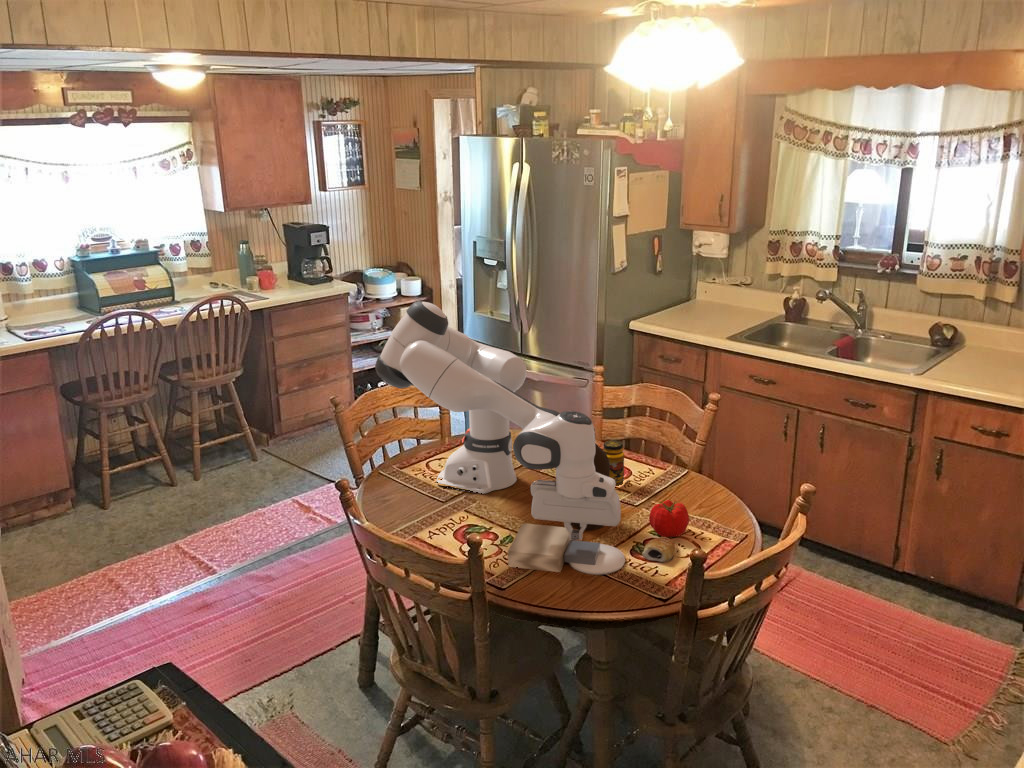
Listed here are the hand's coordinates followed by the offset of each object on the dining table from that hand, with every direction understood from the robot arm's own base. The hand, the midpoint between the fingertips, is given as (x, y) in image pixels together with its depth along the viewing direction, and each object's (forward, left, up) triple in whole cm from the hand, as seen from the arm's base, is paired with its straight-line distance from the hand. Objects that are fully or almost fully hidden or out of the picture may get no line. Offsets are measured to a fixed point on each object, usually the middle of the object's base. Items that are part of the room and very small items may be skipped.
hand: (575, 538), depth 191 cm
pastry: (+18, +6, -6) cm, 20 cm away
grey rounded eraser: (+1, 0, -4) cm, 5 cm away
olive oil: (0, +19, -5) cm, 20 cm away
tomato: (+20, +17, -5) cm, 27 cm away
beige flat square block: (-8, 0, -5) cm, 10 cm away
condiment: (+2, +44, -5) cm, 44 cm away
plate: (+5, 0, -5) cm, 7 cm away
